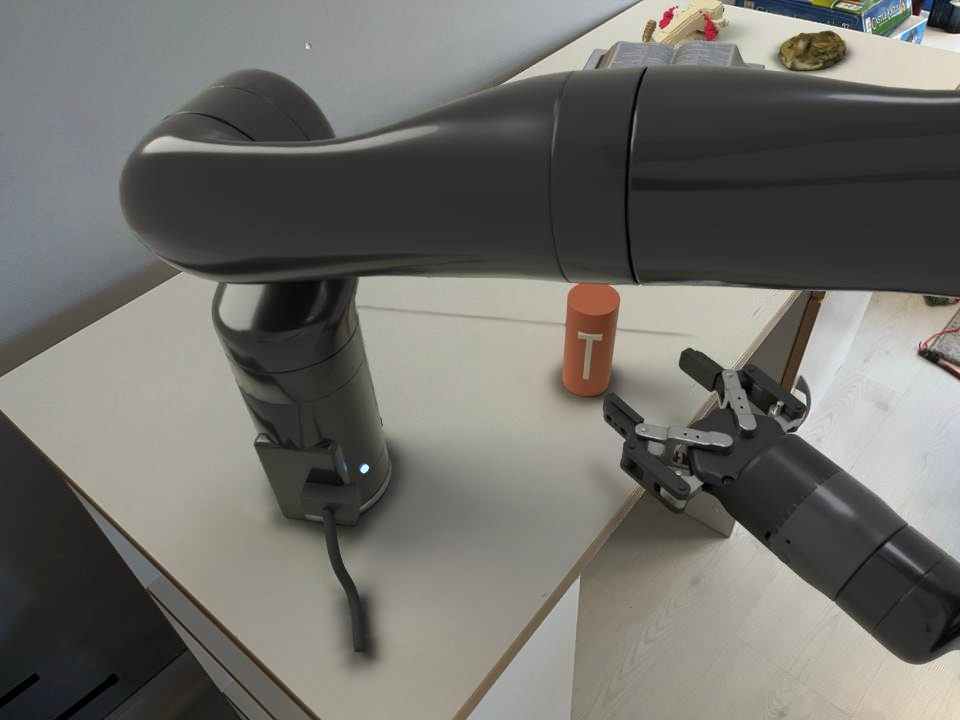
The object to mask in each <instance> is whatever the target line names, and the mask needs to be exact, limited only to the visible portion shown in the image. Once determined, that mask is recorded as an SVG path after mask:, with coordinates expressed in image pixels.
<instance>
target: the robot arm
mask: <svg viewBox="0 0 960 720" xmlns="http://www.w3.org/2000/svg"><path fill="white" fill-rule="evenodd" d="M117 184H118V185H117V187H118V189H117V190H118V192H117V198H118V202H119V207H120V210H121V215H122V217H123V219H124V222H125V223H126V225H127V227H128V229H129V230H130V232H131V233H132V235H133V236H134V237H135V238H136V239H137V241H139V242H140V244H142V245H143V246H144V247H145V248H146V249H147V250H148V251H149V252H150V253H151V254H152V255H154V256H155V257H156V258H158V259H159V260H161V261H163V262H164V263H165V264H167V265H168V266H171V267H173V268H175V269H177V270H179V271H181V272H182V273H185V274H188V275H191V276H194V277H196V278H198V279H202V280H206V281H210V282H215V283H217V286H216V289H215V291H214V293H213V298H212V302H211V321H212V325H213V328H214V331H215V333H216V337H217V338H218V341H219V344H220V346H221V348H222V352H223V354H224V356H225V358H226V360H227V363H228V365H229V367H230V370H231V372H232V376H233V378H234V381H235V383H236V385H237V387H238V390H239V392H240V395H241V398H242V400H243V402H244V405H245V407H246V409H247V412H248V414H249V417H250V420H251V422H252V424H253V426H254V429H255V431H256V434H257V435H256V437H255V439H254V441H253V449H254V450H255V453H256V455H257V457H258V459H259V462H260V465H261V467H262V469H263V471H264V474H265V476H266V478H267V481H268V483H269V486H270V488H271V491H272V492H273V495H274V497H275V499H276V502H277V504H278V507H279V509H280V511H281V514H282V516H283V517H285V518H292V519H300V520H308V521H311V522H317V523H323V529H324V538H325V545H326V550H327V555H328V558H329V562H330V565H331V568H332V570H333V572H334V574H335V576H336V578H337V580H338V581H339V583H340V585H341V586H342V588H343V590H344V592H345V595H346V598H347V601H348V606H349V610H350V616H351V630H352V631H351V632H352V642H353V650H354V652H355V653H362V652H364V651H366V650H367V643H366V635H365V634H366V633H365V622H364V613H363V608H362V602H361V599H360V595H359V592H358V588H357V587H356V584H355V582H354V580H353V579H352V577H351V575H350V573H349V572H348V570H347V568H346V567H345V564H344V561H343V558H342V554H341V551H340V547H339V542H338V541H339V539H338V534H337V525H336V524H338V525H344V526H355V525H356V524H357V523H358V521H359V520H358V519H359V517H360V515H361V514H362V513H364V512H366V511H367V510H369V509H370V508H371V507H372V506H373V505H375V504H376V503H377V502H378V501H379V500H380V499H381V497H382V496H383V495H384V494H385V492H386V490H387V488H388V487H389V483H390V481H391V477H392V471H393V466H392V460H391V455H390V452H389V450H388V449H389V448H388V447H387V442H386V438H385V432H384V430H383V427H384V424H383V420H382V417H381V414H380V409H379V405H378V399H377V395H376V390H375V386H374V381H373V377H372V371H371V367H370V362H369V357H368V353H367V349H366V343H365V342H366V341H365V337H364V334H363V333H364V332H363V328H362V324H361V323H362V322H361V318H360V314H359V309H358V305H357V293H358V288H359V284H360V278H381V277H395V278H396V277H399V278H400V277H402V278H403V277H410V278H411V277H412V278H456V279H457V278H458V279H512V280H528V281H529V280H530V281H531V280H532V281H543V282H553V283H554V282H555V283H565V284H577V285H578V284H603V285H609V286H627V287H628V286H632V287H638V286H641V287H716V288H734V289H735V288H736V289H738V288H739V289H754V290H755V289H756V290H757V289H759V290H778V291H803V292H805V291H806V292H808V291H809V292H850V293H852V292H854V293H857V292H859V293H884V294H901V295H916V296H925V297H927V296H928V297H937V298H945V299H946V298H947V299H954V300H955V299H956V300H960V89H923V88H913V87H912V88H910V87H899V86H898V87H897V86H886V85H878V84H870V83H865V82H857V81H851V80H850V81H849V80H843V79H838V78H831V77H824V76H817V75H811V74H805V73H799V72H797V73H796V72H789V71H781V70H773V69H756V68H748V67H736V66H724V65H707V64H659V65H651V66H646V65H645V66H631V67H617V68H603V69H589V70H583V69H579V70H566V71H565V70H564V71H557V72H552V73H546V74H545V73H544V74H540V75H535V76H530V77H526V78H523V79H519V80H514V81H511V82H507V83H503V84H499V85H495V86H493V87H489V88H486V89H482V90H480V91H476V92H474V93H471V94H467V95H464V96H461V97H459V98H456V99H453V100H451V101H450V100H449V101H448V102H445V103H442V104H440V105H437V106H435V107H432V108H429V109H427V110H424V111H422V112H419V113H416V114H413V115H411V116H408V117H406V118H402V119H400V120H397V121H394V122H391V123H388V124H385V125H382V126H380V127H377V128H374V129H370V130H366V131H363V132H359V133H355V134H352V135H346V136H339V137H337V134H336V132H335V130H334V128H333V125H332V123H331V121H330V120H329V118H328V117H327V116H326V114H325V112H324V111H323V110H322V108H321V107H320V105H319V104H318V102H316V101H315V99H313V98H312V96H311V95H310V94H309V93H308V92H307V91H306V90H305V89H303V87H301V86H300V85H298V84H297V83H296V82H294V81H292V80H291V79H289V78H288V77H286V76H284V75H282V74H279V73H277V72H275V71H271V70H268V69H263V68H241V69H237V70H234V71H231V72H228V73H225V74H224V75H221V76H220V77H218V78H217V79H215V80H213V81H212V82H211V83H209V84H208V85H207V86H205V87H204V88H202V89H201V90H200V91H198V92H197V93H196V94H195V95H193V96H192V97H190V98H189V99H187V101H185V102H184V103H183V104H181V105H180V106H178V107H177V108H176V109H174V110H173V111H172V112H170V113H169V114H167V116H165V117H164V118H163V119H161V120H160V121H158V122H157V123H155V124H154V125H153V126H152V127H151V128H150V129H148V130H147V132H145V134H144V135H143V136H142V137H141V138H140V139H139V140H138V141H137V142H136V144H135V145H134V146H133V147H132V149H131V151H130V152H129V153H128V155H127V157H126V158H125V160H124V162H123V164H122V167H121V169H120V174H119V178H118V182H117ZM678 367H679V369H680V370H681V371H682V372H683V373H684V374H686V375H687V376H688V377H690V378H691V379H692V380H693V381H695V382H696V383H697V384H699V385H700V386H701V387H703V388H704V389H705V390H706V391H708V392H709V393H713V392H715V391H716V392H715V395H716V399H717V403H718V406H717V407H715V408H714V409H712V410H711V411H710V412H709V413H708V414H707V416H706V417H705V418H701V419H698V420H696V421H695V422H693V423H691V424H690V425H689V426H688V427H685V426H680V425H675V424H674V425H670V426H667V427H664V426H658V425H653V424H649V423H645V418H644V417H643V416H642V415H640V414H639V413H638V412H637V411H636V410H634V409H633V408H632V407H631V406H630V405H629V404H627V402H625V401H624V400H623V399H622V398H621V397H620V396H619V395H618V394H616V393H615V392H611V393H608V394H607V395H605V396H604V398H603V402H602V403H603V405H602V412H603V413H602V417H603V419H604V421H605V423H606V424H608V425H609V427H610V428H612V429H613V430H614V431H615V432H616V433H617V434H618V435H619V436H620V437H622V438H623V439H624V442H623V444H622V452H621V458H620V460H619V461H620V462H619V467H620V469H621V470H622V471H623V472H624V473H626V474H627V476H629V477H630V478H631V479H632V480H634V481H635V482H636V483H637V484H638V485H639V486H641V487H642V488H643V489H644V490H645V491H646V492H647V493H649V494H650V495H651V496H652V497H654V498H655V499H656V500H657V501H658V502H659V503H660V504H662V505H663V506H664V507H665V508H666V509H668V510H669V511H670V512H671V513H673V514H676V515H680V514H683V513H684V512H685V511H686V508H687V505H688V502H689V501H691V500H693V498H695V497H696V496H697V495H698V494H700V492H702V493H706V494H708V495H710V496H713V497H715V498H716V499H717V500H718V501H719V503H720V504H721V506H722V507H723V509H724V510H725V511H726V513H727V514H728V515H729V516H731V517H732V518H733V519H734V521H736V522H737V523H738V524H740V526H742V527H743V528H744V529H745V530H746V531H747V532H748V533H749V534H750V535H751V536H752V537H754V538H755V539H756V540H757V541H759V542H760V543H761V545H763V546H764V547H765V548H766V549H767V550H768V551H770V552H771V553H772V554H773V555H774V556H775V557H777V559H778V560H779V561H780V562H781V563H783V564H784V565H785V566H787V567H788V568H789V569H790V570H791V571H792V572H793V573H794V574H796V575H797V576H798V577H799V578H800V579H801V580H803V581H804V582H806V584H808V585H810V587H812V588H814V589H815V590H817V591H818V592H819V593H821V594H822V595H824V596H825V597H827V598H828V599H829V600H830V601H831V602H833V603H835V605H836V606H837V607H838V608H839V609H841V610H842V611H843V612H844V613H845V614H846V615H848V617H850V618H851V619H852V620H853V621H854V622H855V623H856V624H857V625H859V626H860V627H861V628H862V629H863V630H864V631H865V632H867V633H868V634H869V635H871V637H872V638H873V639H874V640H876V642H878V643H879V644H880V645H881V646H882V647H883V648H885V649H886V650H887V651H888V652H889V653H891V654H892V655H893V656H895V657H896V658H897V659H898V660H900V661H902V662H904V663H907V664H909V665H914V666H915V665H916V666H918V665H921V666H922V665H926V664H928V663H930V662H933V661H936V660H937V659H939V658H940V657H943V656H945V655H947V654H949V653H951V652H953V651H954V652H955V651H960V562H959V561H958V560H957V559H956V558H955V557H953V556H952V555H951V554H949V553H948V552H947V551H946V550H944V549H943V548H941V547H940V546H938V545H937V544H936V543H935V542H933V540H931V539H930V538H928V537H927V536H925V535H924V534H923V533H922V532H920V531H919V530H918V529H916V528H915V527H914V526H913V525H910V524H909V523H908V522H907V521H906V520H905V518H902V517H901V515H899V514H898V513H897V512H896V511H895V510H894V509H893V508H892V507H891V506H890V505H889V504H888V503H887V502H886V501H885V500H884V499H882V498H881V497H880V496H879V495H878V494H876V493H875V492H874V491H872V489H870V488H869V487H868V486H866V485H864V483H863V482H861V481H859V480H858V479H857V478H856V477H854V476H853V475H851V474H850V473H849V472H847V471H846V470H845V469H843V468H842V467H841V466H840V465H838V464H837V463H836V462H834V461H833V460H831V458H829V457H827V455H825V454H824V453H822V452H821V451H820V450H818V449H817V448H816V447H814V445H812V444H811V443H809V442H808V441H807V440H805V439H803V437H801V436H800V435H798V434H796V433H797V432H798V430H799V428H800V426H801V423H802V421H803V418H804V416H805V413H806V412H807V410H808V407H807V405H806V404H805V403H804V402H802V401H801V400H800V399H799V398H798V397H796V396H795V395H793V394H792V393H791V392H790V391H789V390H787V389H786V388H785V387H784V386H782V385H781V384H780V383H779V382H777V381H776V380H775V379H774V378H772V377H771V376H770V375H768V374H767V373H766V372H765V371H763V370H762V369H761V368H759V367H758V366H757V365H755V364H753V363H747V364H745V365H744V366H743V369H739V370H734V369H732V368H725V367H723V366H722V365H721V364H719V363H717V362H716V361H715V360H714V359H712V358H711V357H710V356H709V355H707V354H705V353H704V352H703V351H700V350H698V349H694V348H692V347H687V348H685V349H683V350H682V351H681V352H680V356H679V360H678ZM749 402H750V403H751V404H752V405H753V406H755V407H756V408H757V409H759V411H761V412H762V413H763V414H765V415H766V416H765V415H762V414H757V413H752V409H751V406H750V403H749ZM786 432H787V433H786ZM678 445H683V451H679V450H677V449H676V447H677V446H678ZM670 467H672V468H676V469H677V470H675V471H674V470H672V469H671V468H670ZM682 470H684V471H688V473H689V476H688V475H685V474H683V471H682Z"/></svg>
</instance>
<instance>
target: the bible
mask: <svg viewBox="0 0 960 720" xmlns="http://www.w3.org/2000/svg"><path fill="white" fill-rule="evenodd" d="M659 64H707V65H724V66H736V67H748V68H756V69H765V68H766V65H765V64H760V63H751V62H745V61H744V59H743V57H742V55H741V51H740V49H739V46H738V44H736V43H733V42H717V41H703V40H690V41H686V42H685V43H683V44H682V45H681V46H680V47H679V48H677V49H675V48H672V47H671V46H670V45H668V44H665V43H659V42H651V43H646V42H643V41H637V42H636V41H626V40H619V41H617V42H615V43H614V44H613V45H611V46H610V48H609V49H601V48H594V49H593V51H592V53H591V54H590V56H589V58H588V59H587V61H586V63H585V65H584V67H583V68H582V70H589V69H603V68H617V67H631V66H645V65H646V66H651V65H659ZM765 70H766V69H765Z"/></svg>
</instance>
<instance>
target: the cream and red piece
mask: <svg viewBox="0 0 960 720" xmlns="http://www.w3.org/2000/svg"><path fill="white" fill-rule="evenodd" d="M675 9H676V13H675V14H674V10H675ZM686 9H687V10H685V9H683V8H680V9H679V5H676V6H672V7H669V8H668V10H666V11H664V12H663V15H662V19H661V20H659V23H658V28H659V29H660V31H659V32H657V34H656V36H655V37H653V35H654V32H655V31H656V28H657V20H654V19H649V20H648V21H646V22H647V23H646V25H645V27H644V30H643V34H642V38H641V42H646V43H651V42H659V43H665V44H668V45H670V46H671V47H672V48H673V49H675V46H676V45H678V44H679V43H680V42H681V41H682V40H684V39H685V37H688V36H689V35H690V34H692V33H693V32H696V31H700V32H704V33H705V34H704V38H705V39H703V40H702V41H710V42H713V40H714V39H716V36H717V35H718V34H719V32H720V29H724V28H728V27H729V22H730V20H728V19H726V18H724V17H723V15H724V13H725V9H726V7H725V5H724V4H723V2H722V1H721V0H692V1H691V2H689V4H687V8H686ZM674 17H676V18H675V19H674Z"/></svg>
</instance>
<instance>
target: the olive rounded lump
mask: <svg viewBox="0 0 960 720" xmlns="http://www.w3.org/2000/svg"><path fill="white" fill-rule="evenodd" d="M845 42H846V41H845V40H844V39H843V38H842V37H841V36H840V34H839V33H836V32H834V31H833V30H822V31H819V32H806V33H805V32H800V33H798V34H797V35H794V36H792V37H790V38H789V39H787V40H786V41H784V42H783V43H782V45H781V46H780V48H779V52H778V59H779V60H780V62H781V63H782V64H783V65H784V66H785V67H786V68H788V69H790V70H794V71H815V70H820V69H825V68H828V67H830V66H832V65H834V64H835V63H836V62H838V61H840V60H842V59H843V58H844V56H845V54H846V52H847V47H846V46H847V45H846V43H845Z"/></svg>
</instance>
